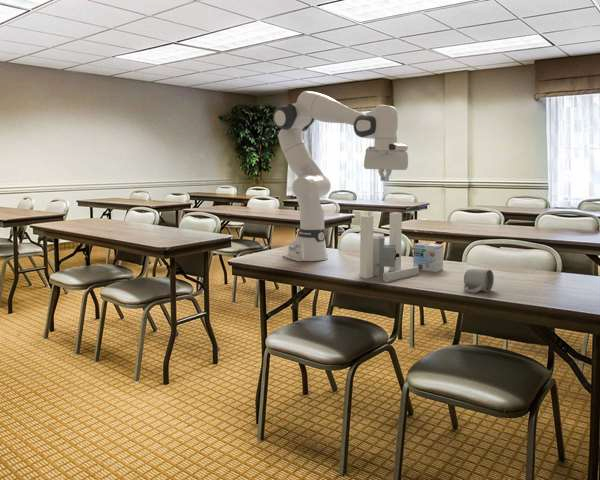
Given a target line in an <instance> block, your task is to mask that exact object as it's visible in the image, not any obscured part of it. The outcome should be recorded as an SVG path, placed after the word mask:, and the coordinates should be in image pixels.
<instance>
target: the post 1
mask: <svg viewBox="0 0 600 480" xmlns="http://www.w3.org/2000/svg"><path fill="white" fill-rule="evenodd" d="M359 230H360V231H359V233H360V240H359V243H360V245H359V246H360V247H359V248H360V249H359V252H360V253H359V258H360V259H359V263H360V264H359V278H361V279H371V278H373V277H374V276H373V236H374V215H360V229H359Z"/></svg>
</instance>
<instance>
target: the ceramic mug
mask: <svg viewBox="0 0 600 480" xmlns="http://www.w3.org/2000/svg"><path fill="white" fill-rule="evenodd" d="M494 280H495V279H494V273H493V271H492V270H491V269H487V268H485V269H483V268H470V269H467V270H466V271H465V274H464V276H463V283H464V285H463V289H464V292H465V293H468V294H475V293H478V292H486V293H489V292H491V290H492V289H493V286H494V282H495V281H494ZM488 291H489V292H488Z"/></svg>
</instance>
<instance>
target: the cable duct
mask: <svg viewBox="0 0 600 480" xmlns="http://www.w3.org/2000/svg"><path fill="white" fill-rule="evenodd" d="M419 271H420V270H419V267H417V266H409V267H405V268H401V269H400V270H395V271H387V272H384V273H383V276H382V282H386V283H388V282H393V281H396V280H401V279H405V278H408V277H409V278H410V277H412V276H416V275H419Z"/></svg>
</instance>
